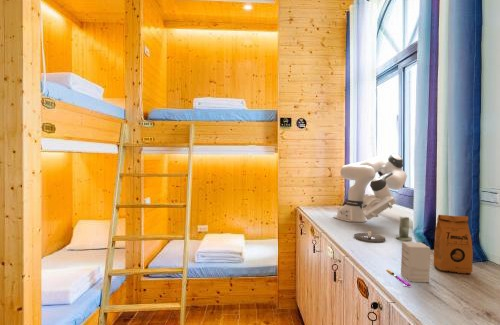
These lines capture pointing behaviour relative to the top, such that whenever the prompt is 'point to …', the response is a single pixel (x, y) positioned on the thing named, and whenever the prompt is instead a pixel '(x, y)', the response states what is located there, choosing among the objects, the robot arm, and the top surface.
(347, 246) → the top surface
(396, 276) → the purple screwdriver
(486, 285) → the top surface
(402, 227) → the green cylinder with base
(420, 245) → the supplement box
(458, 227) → the coffee package
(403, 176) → the robot arm
